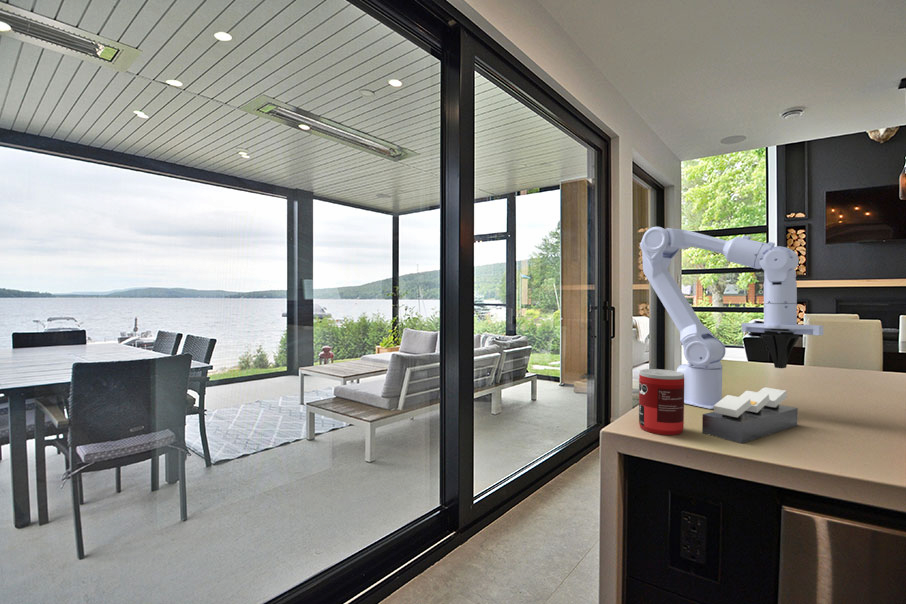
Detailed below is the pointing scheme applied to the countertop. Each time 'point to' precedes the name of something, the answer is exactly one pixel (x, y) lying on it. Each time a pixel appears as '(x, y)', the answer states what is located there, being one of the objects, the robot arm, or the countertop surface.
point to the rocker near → (732, 406)
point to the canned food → (661, 401)
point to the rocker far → (774, 396)
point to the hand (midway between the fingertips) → (780, 367)
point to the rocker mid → (756, 400)
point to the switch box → (750, 423)
